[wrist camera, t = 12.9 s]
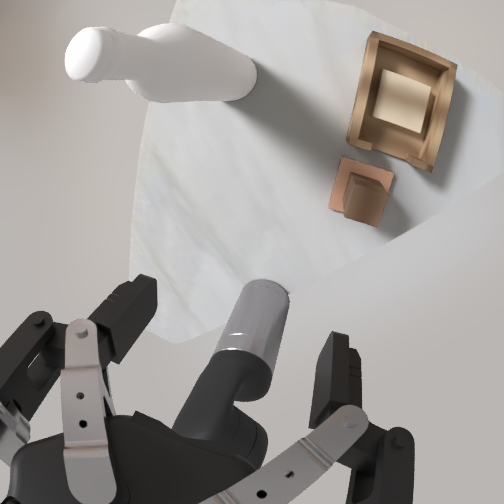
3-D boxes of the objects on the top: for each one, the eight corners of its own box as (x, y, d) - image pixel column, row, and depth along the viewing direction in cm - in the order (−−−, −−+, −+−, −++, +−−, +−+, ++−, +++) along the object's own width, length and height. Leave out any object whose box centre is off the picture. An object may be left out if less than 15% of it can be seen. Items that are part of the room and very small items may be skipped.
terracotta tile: (376, 220, 43) (377, 222, 42) (328, 206, 44) (328, 208, 43) (392, 172, 39) (394, 173, 38) (341, 156, 40) (342, 157, 39)
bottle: (219, 109, 41) (64, 138, 15) (197, 67, 38) (33, 52, 12) (267, 87, 37) (154, 63, 12) (244, 43, 35) (110, -28, 9)
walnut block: (379, 180, 39) (388, 195, 33) (370, 208, 41) (377, 227, 35) (350, 171, 40) (355, 184, 34) (342, 200, 42) (344, 217, 36)
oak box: (420, 165, 37) (431, 172, 33) (345, 140, 39) (348, 144, 34) (443, 67, 29) (457, 64, 25) (367, 38, 30) (372, 30, 26)
